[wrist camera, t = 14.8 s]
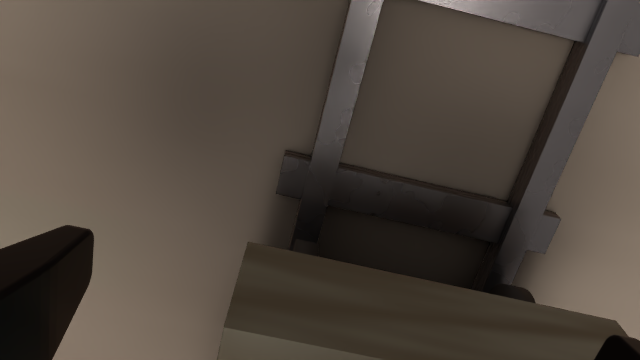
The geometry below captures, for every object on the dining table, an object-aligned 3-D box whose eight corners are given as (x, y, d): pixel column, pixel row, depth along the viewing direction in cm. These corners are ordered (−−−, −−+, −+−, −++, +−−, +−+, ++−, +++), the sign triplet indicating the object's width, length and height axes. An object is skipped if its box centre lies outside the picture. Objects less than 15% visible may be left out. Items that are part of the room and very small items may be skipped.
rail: (350, -136, 16) (351, -141, 15) (675, -46, 17) (694, -46, 16) (235, 373, 24) (231, 389, 23) (460, 416, 25) (465, 434, 24)
